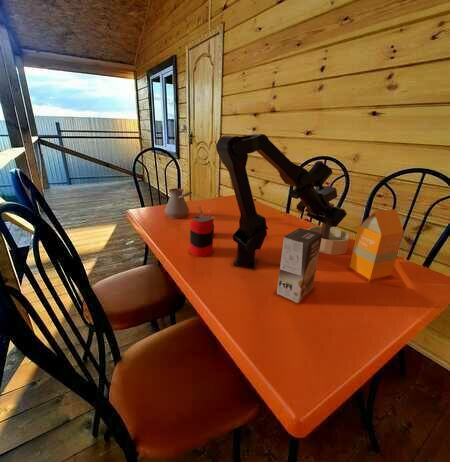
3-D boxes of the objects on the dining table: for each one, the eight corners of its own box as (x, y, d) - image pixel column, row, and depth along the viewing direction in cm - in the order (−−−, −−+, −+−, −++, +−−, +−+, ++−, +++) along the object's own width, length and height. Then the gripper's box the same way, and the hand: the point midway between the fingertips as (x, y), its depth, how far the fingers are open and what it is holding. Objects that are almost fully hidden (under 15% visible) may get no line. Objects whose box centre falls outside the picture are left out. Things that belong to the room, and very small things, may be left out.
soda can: (199, 245, 92) (199, 213, 88) (216, 250, 88) (217, 217, 84) (185, 252, 86) (185, 219, 82) (204, 259, 82) (204, 224, 78)
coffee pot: (161, 214, 124) (159, 183, 119) (183, 211, 130) (182, 182, 125) (179, 228, 107) (179, 193, 102) (203, 223, 113) (203, 190, 108)
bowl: (349, 260, 85) (352, 243, 83) (305, 252, 89) (307, 237, 87) (344, 243, 98) (347, 229, 96) (306, 237, 102) (308, 223, 100)
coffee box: (299, 304, 62) (308, 244, 57) (276, 293, 66) (282, 236, 60) (313, 288, 69) (323, 233, 63) (291, 279, 72) (298, 226, 67)
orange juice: (348, 268, 79) (361, 207, 73) (369, 264, 82) (384, 205, 76) (369, 282, 72) (386, 215, 66) (391, 277, 75) (410, 213, 69)
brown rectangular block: (331, 248, 91) (338, 206, 86) (316, 246, 93) (322, 205, 88) (330, 242, 96) (336, 202, 91) (316, 240, 97) (321, 201, 92)
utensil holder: (210, 239, 97) (211, 209, 93) (195, 236, 99) (195, 207, 95) (216, 234, 102) (216, 205, 98) (201, 231, 104) (202, 203, 100)
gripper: (348, 184, 77) (366, 215, 84) (306, 174, 93) (325, 201, 101) (323, 211, 76) (344, 240, 84) (286, 197, 92) (306, 222, 100)
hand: (329, 224), depth 92 cm, fingers closed on brown rectangular block, 3 cm apart
